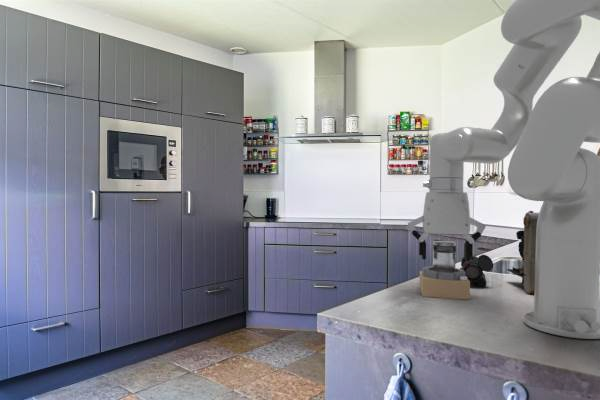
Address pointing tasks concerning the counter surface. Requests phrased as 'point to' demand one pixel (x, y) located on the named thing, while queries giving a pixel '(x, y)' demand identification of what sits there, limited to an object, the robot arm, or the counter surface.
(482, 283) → the night vision scope
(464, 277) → the mount
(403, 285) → the counter surface
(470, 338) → the counter surface
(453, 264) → the lens
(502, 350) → the counter surface
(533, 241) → the vintage camera
